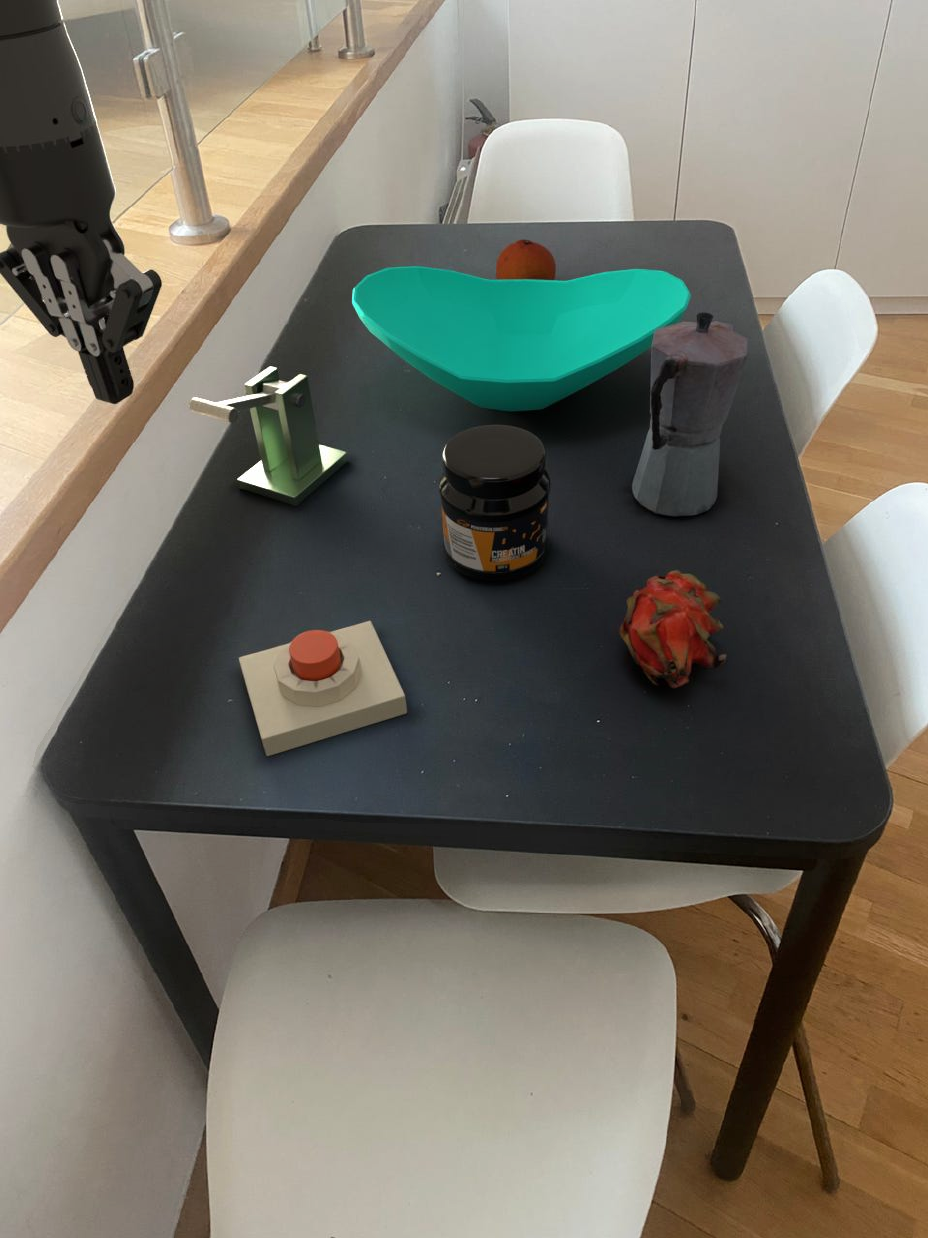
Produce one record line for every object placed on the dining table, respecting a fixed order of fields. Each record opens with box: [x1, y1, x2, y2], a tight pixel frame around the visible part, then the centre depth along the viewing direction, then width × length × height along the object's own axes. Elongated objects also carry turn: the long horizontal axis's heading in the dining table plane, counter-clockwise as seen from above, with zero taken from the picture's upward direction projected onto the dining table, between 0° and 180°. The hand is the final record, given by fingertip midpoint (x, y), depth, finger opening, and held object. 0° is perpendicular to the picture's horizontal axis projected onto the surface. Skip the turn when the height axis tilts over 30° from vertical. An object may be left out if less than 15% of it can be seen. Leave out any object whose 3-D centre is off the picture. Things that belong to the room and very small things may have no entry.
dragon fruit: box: [619, 569, 727, 689], centre depth 78 cm, size 8×8×12 cm
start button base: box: [238, 620, 408, 757], centre depth 78 cm, size 12×10×4 cm
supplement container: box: [438, 424, 551, 582], centre depth 88 cm, size 10×10×12 cm
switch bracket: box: [236, 366, 349, 507], centre depth 101 cm, size 10×8×12 cm
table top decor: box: [351, 265, 692, 412], centre depth 112 cm, size 40×28×13 cm
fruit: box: [495, 239, 557, 280], centre depth 136 cm, size 9×9×8 cm
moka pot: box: [631, 311, 749, 517], centre depth 91 cm, size 10×15×20 cm, turn 148°
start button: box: [289, 629, 341, 681], centre depth 76 cm, size 4×4×2 cm
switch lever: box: [189, 380, 289, 424], centre depth 94 cm, size 12×5×2 cm, turn 151°
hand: (116, 396), depth 64 cm, fingers closed
